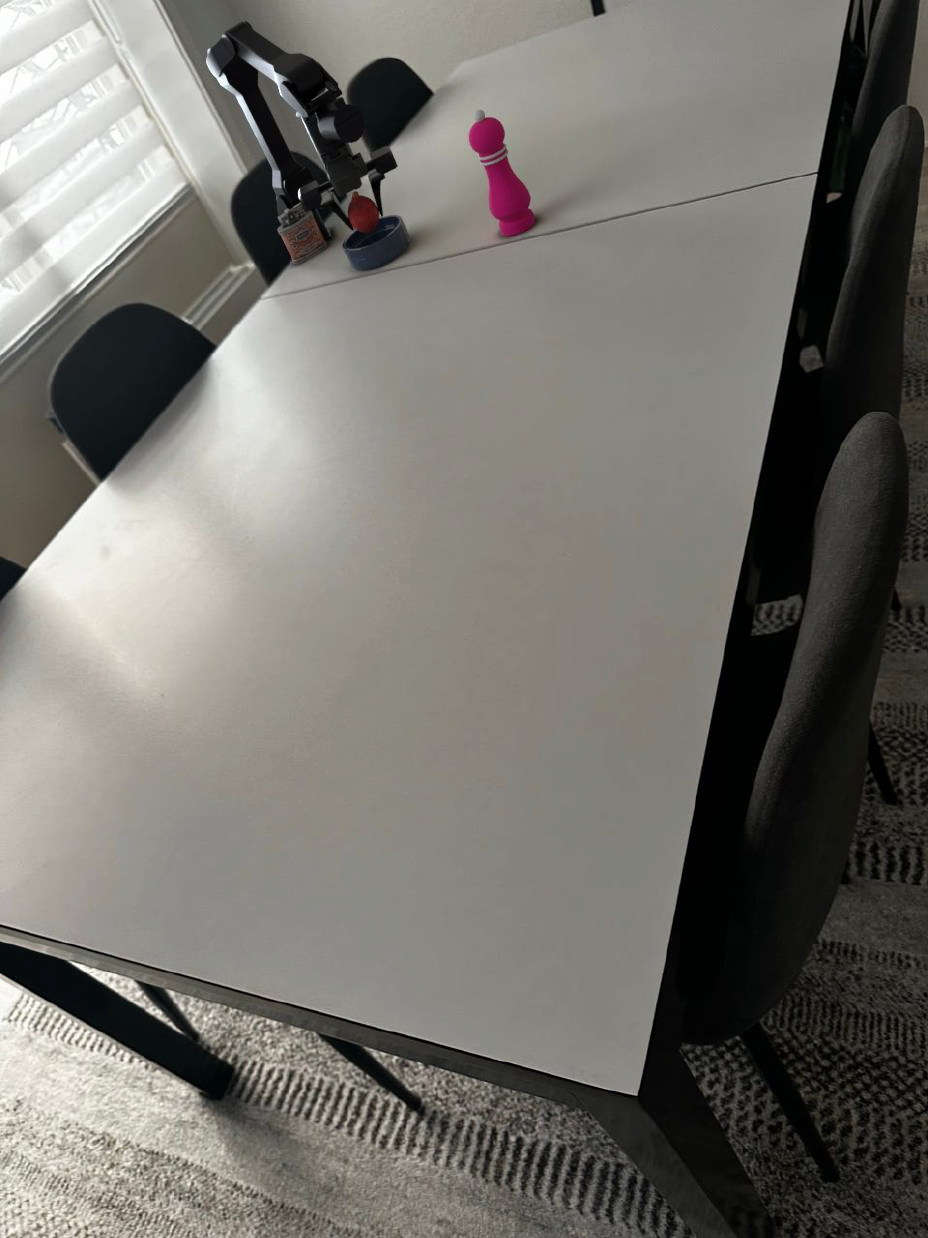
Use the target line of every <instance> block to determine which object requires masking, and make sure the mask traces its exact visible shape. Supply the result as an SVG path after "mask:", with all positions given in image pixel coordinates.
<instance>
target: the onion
mask: <svg viewBox="0 0 928 1238" xmlns="http://www.w3.org/2000/svg"><path fill="white" fill-rule="evenodd" d="M347 216H348V218H349V221H350V223H351V225H352V226H353V228H354V230H358V231H360V232H363V233H369V234H372V233H373V232H374V231H375V228H376V226H377V223H378V220H379V218H380V213H379V211H378V208H377V204H376V202H375V200H373V199H372V198H370V197H368V196H366V195H360V194H359V191H357V190H353V191H352V193H351V199H350V201H349V204H348V206H347Z"/></svg>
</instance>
